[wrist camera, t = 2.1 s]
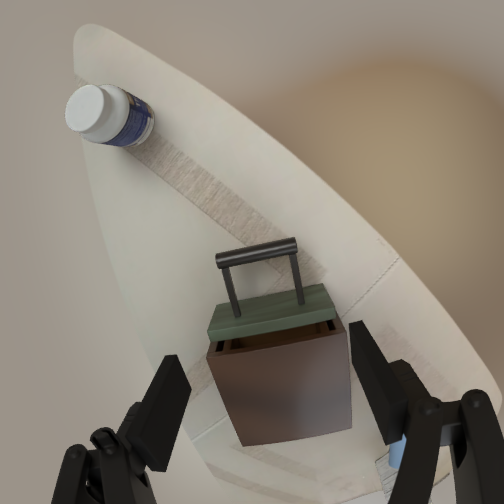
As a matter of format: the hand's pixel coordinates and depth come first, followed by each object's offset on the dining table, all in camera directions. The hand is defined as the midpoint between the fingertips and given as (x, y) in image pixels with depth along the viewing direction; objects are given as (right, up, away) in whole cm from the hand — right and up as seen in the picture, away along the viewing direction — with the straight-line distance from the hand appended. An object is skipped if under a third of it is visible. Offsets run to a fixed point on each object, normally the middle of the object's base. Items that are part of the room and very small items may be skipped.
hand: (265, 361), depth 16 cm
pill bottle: (-13, +20, +12) cm, 27 cm away
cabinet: (+3, -7, +18) cm, 19 cm away
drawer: (+2, -1, +16) cm, 16 cm away
